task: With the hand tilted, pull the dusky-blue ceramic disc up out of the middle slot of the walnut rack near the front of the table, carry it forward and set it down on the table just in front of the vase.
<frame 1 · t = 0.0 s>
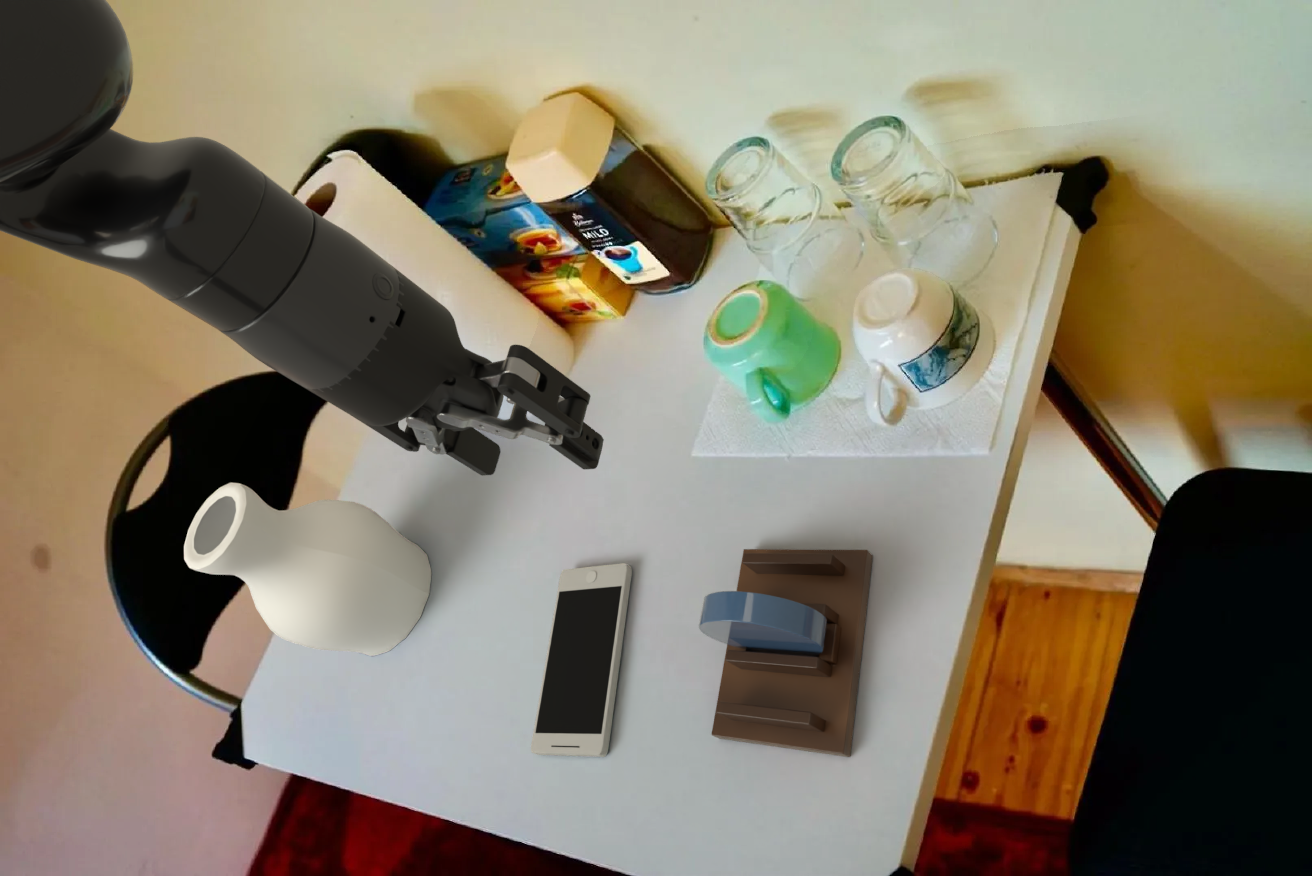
hand: (543, 459, 56), 21 cm above the table, tool pointing down, fingers open, 8 cm apart
rack: (796, 647, 64), on the table
disc: (762, 625, 60), point 5 cm above the table, touching rack
vase: (389, 598, 91), on the table
smartphone: (587, 658, 74), on the table
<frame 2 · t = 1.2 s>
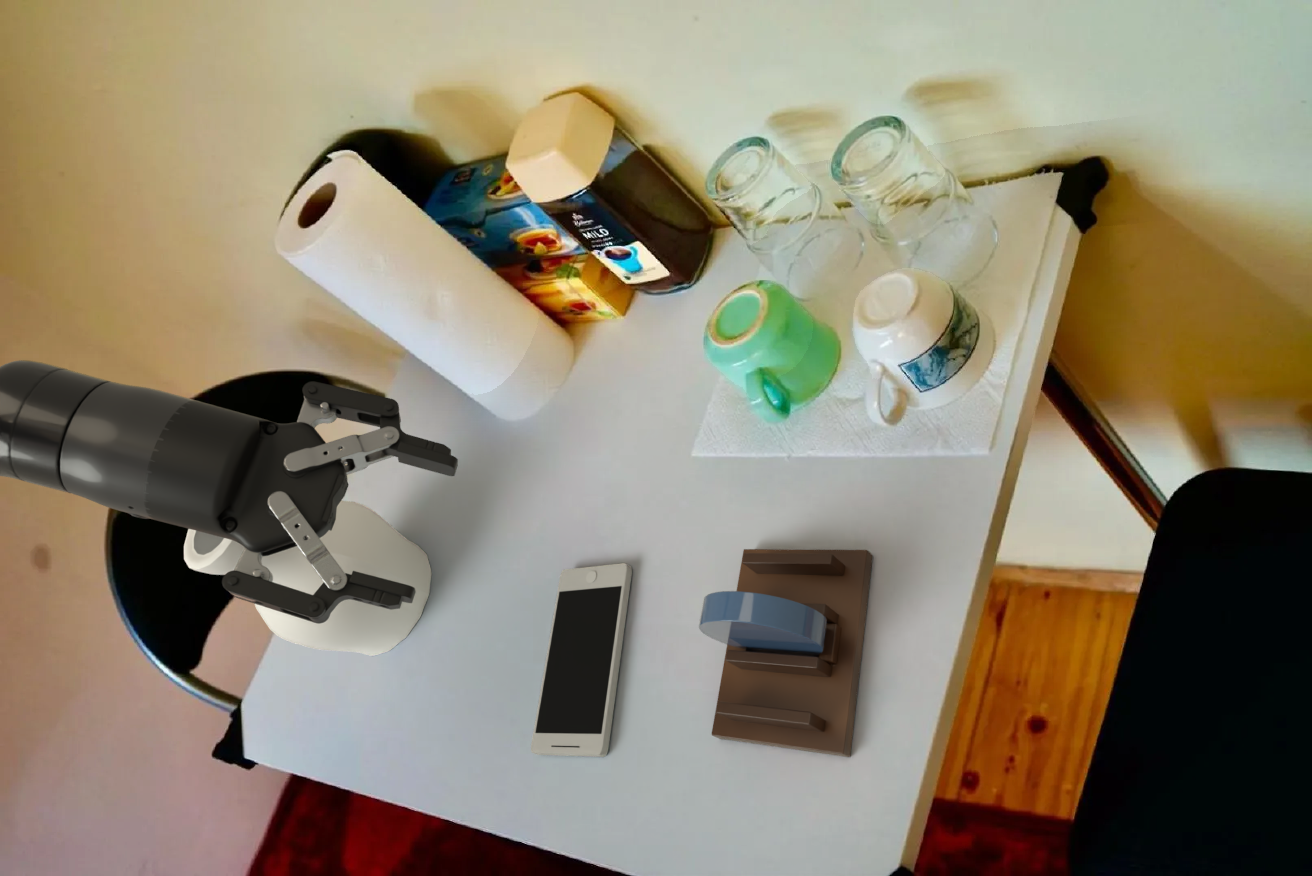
hand: (435, 529, 56), 23 cm above the table, tool tilted 45°, fingers open, 8 cm apart
nothing on the table moved.
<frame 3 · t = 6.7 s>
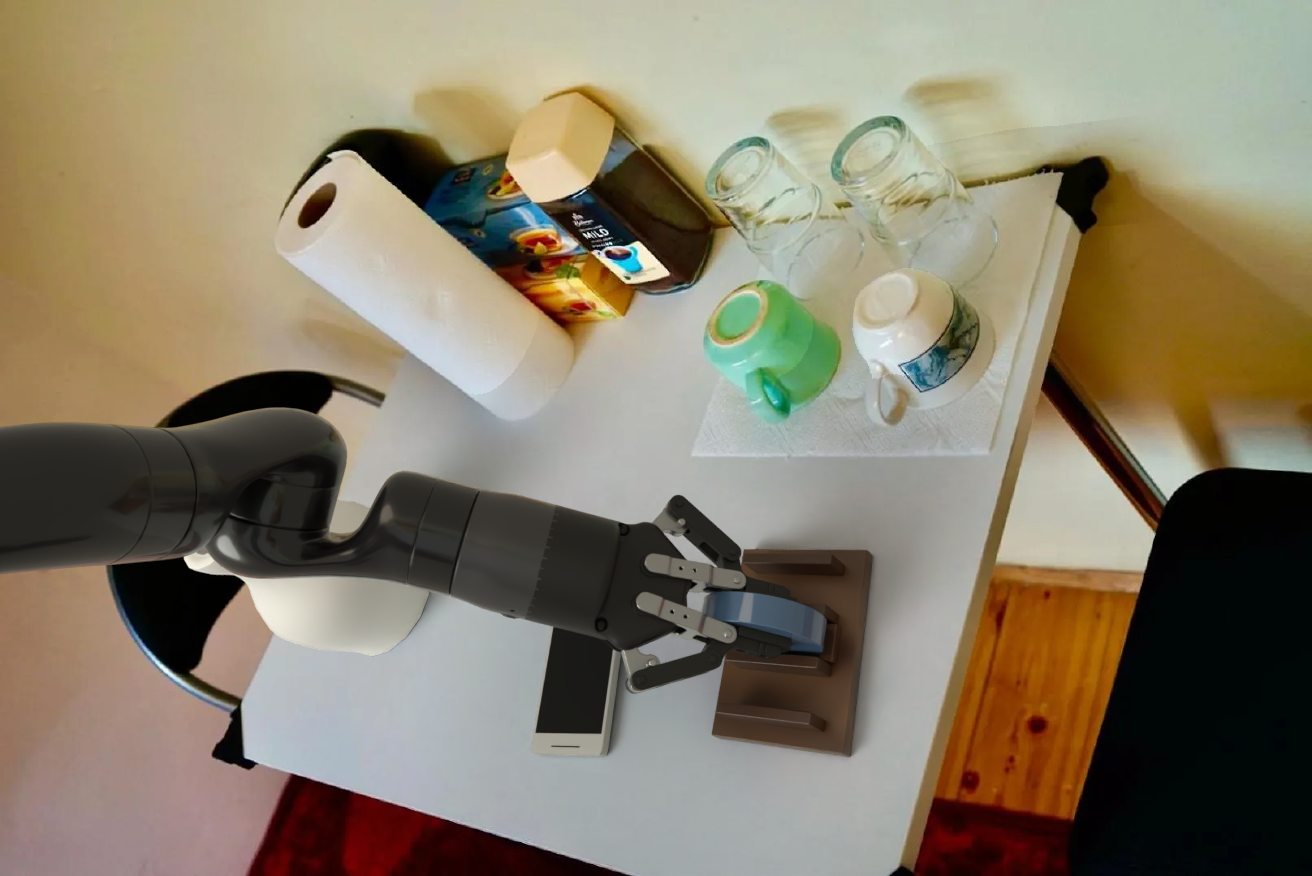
hand: (789, 625, 59), 6 cm above the table, tool tilted 45°, fingers closed on disc, 2 cm apart
disc: (762, 625, 60), point 5 cm above the table, touching gripper, rack
everything else where it was.
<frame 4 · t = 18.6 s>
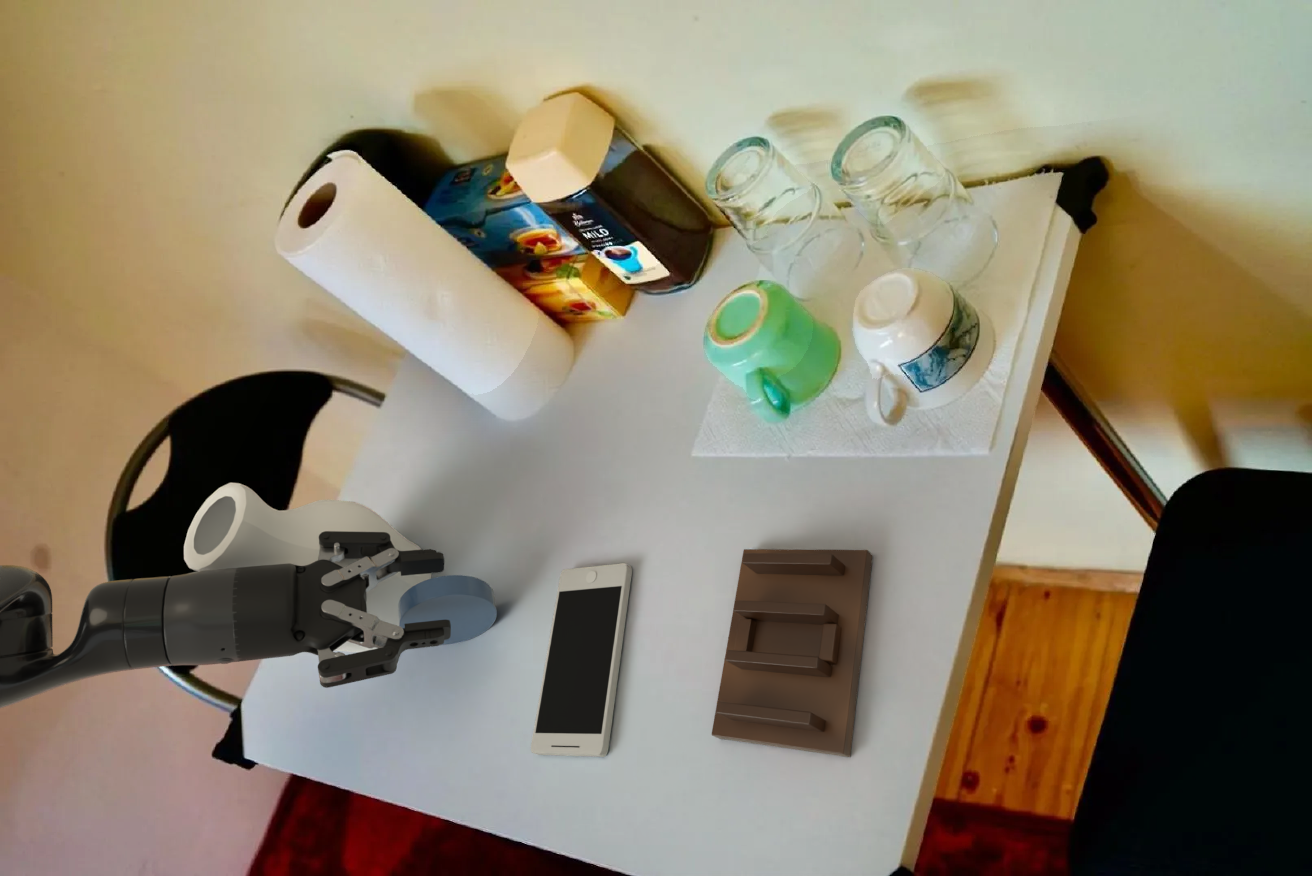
hand: (446, 594, 77), 6 cm above the table, tool tilted 45°, fingers open, 6 cm apart
disc: (447, 610, 79), point 4 cm above the table
everything else where it was.
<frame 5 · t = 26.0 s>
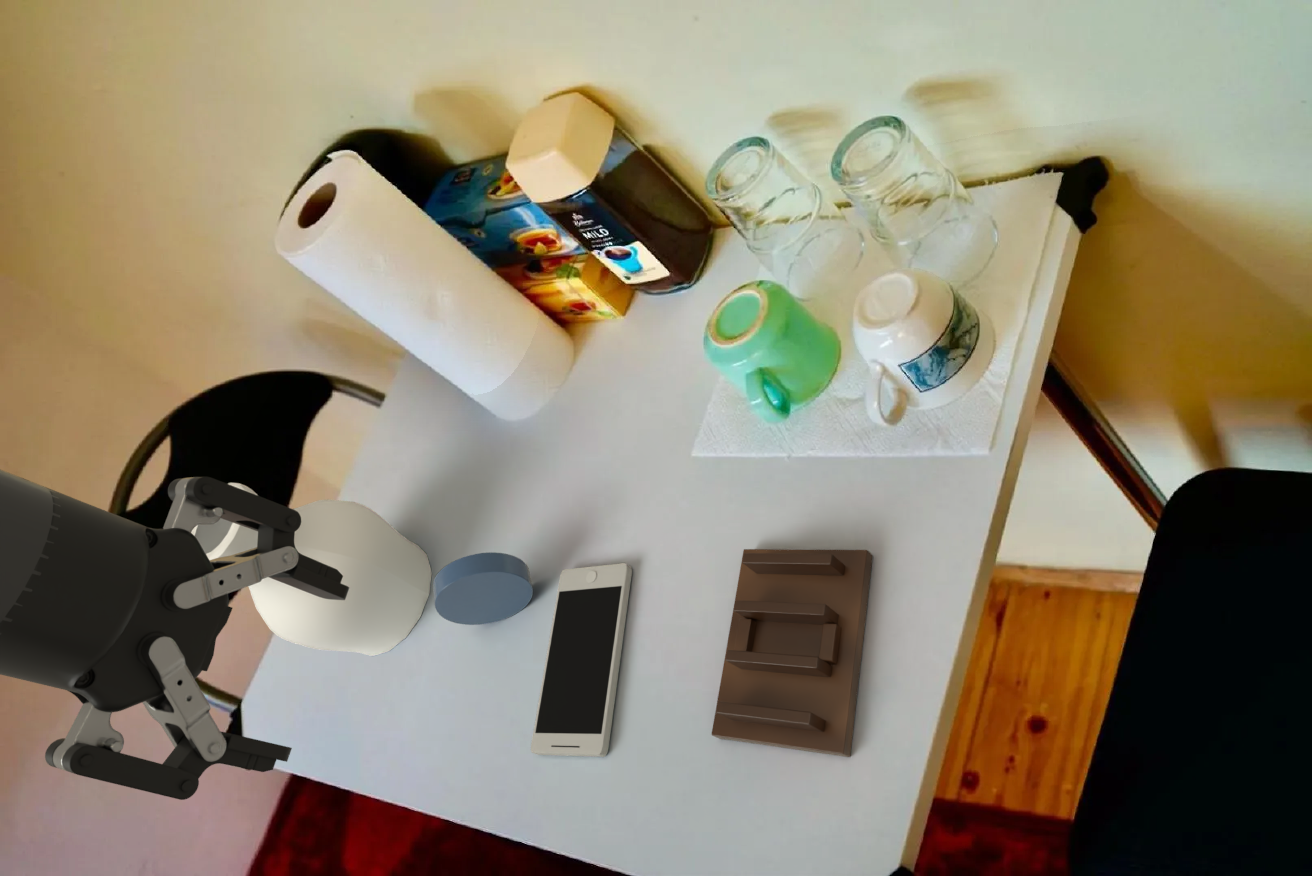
hand: (310, 670, 48), 28 cm above the table, tool pointing down, fingers open, 8 cm apart
disc: (483, 589, 78), point 4 cm above the table, tilted 57°
everything else where it was.
at the end: disc touching table; disc inside the target area on the table beside the vase (3.6 cm from its centre), point 4.4 cm above the table; the gripper is holding nothing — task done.
